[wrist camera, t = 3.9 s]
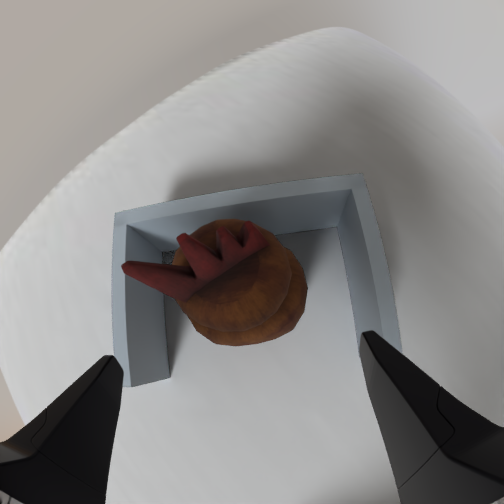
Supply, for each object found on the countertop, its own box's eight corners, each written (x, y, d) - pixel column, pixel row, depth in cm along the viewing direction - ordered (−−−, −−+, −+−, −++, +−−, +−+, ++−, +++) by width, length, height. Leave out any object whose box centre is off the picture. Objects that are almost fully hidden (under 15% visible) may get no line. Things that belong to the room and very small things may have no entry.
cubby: (372, 354, 19) (403, 358, 13) (158, 377, 20) (117, 386, 14) (346, 213, 22) (362, 173, 17) (151, 242, 23) (114, 213, 18)
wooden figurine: (216, 351, 20) (81, 361, 6) (203, 275, 22) (82, 169, 8) (309, 333, 20) (362, 314, 6) (291, 256, 22) (295, 107, 8)
